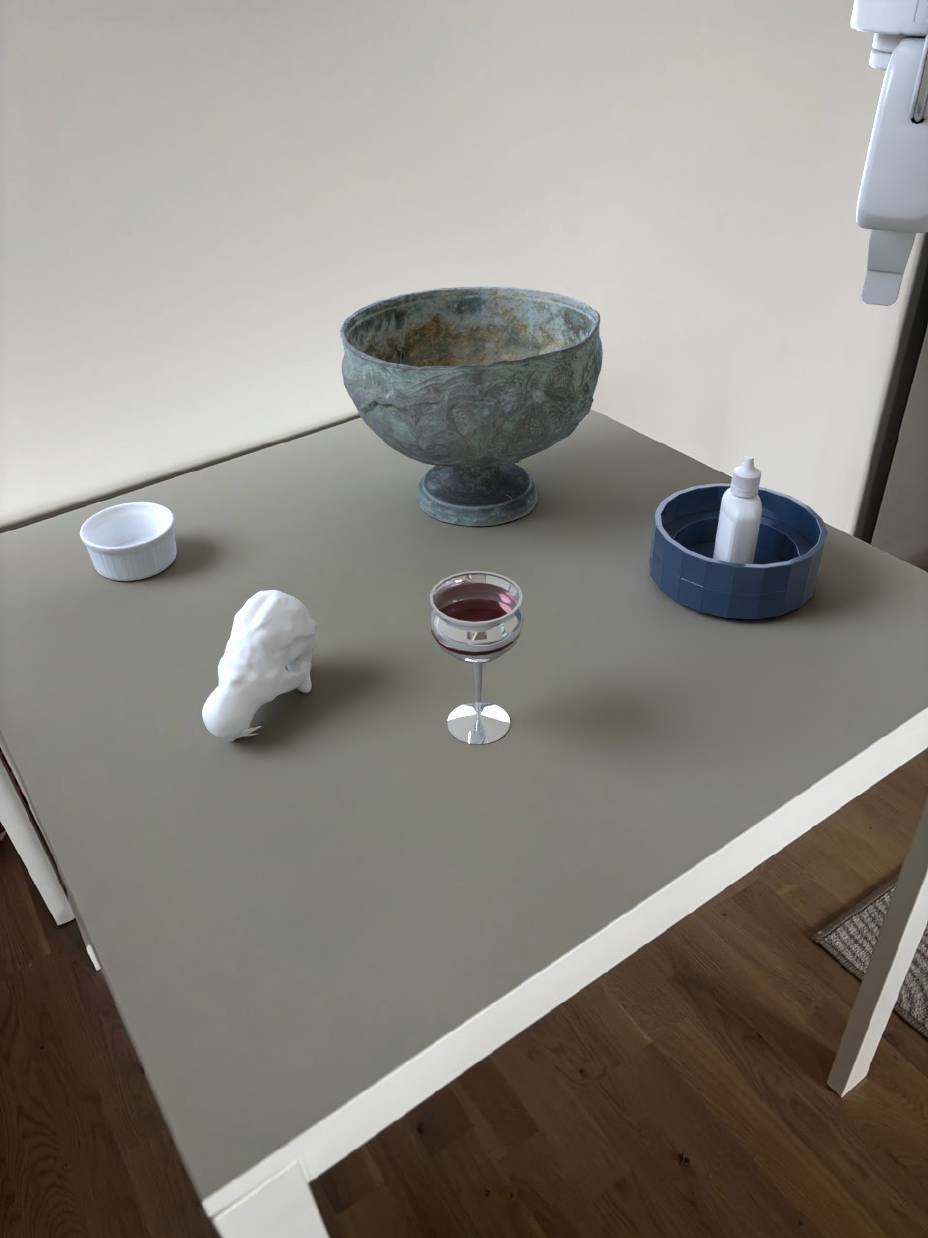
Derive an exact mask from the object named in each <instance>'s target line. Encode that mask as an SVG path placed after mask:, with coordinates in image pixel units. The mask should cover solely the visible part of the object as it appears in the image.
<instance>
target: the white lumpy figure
mask: <svg viewBox="0 0 928 1238" xmlns="http://www.w3.org/2000/svg"><path fill="white" fill-rule="evenodd" d="M318 626H319V625H318V623H317V622H316V621H315V620H314V619H313V618H312V617H311V614H310V612H309V610H308V609H307V607H306V605H305V604H304V603H303V602H302V601H301V600H300V599H298V598H297V597H294V596H293V595H290V594H287V593H285V592H283V591H280V590H278V589H268V590H260V591H257V592H256V593H255V594H254V595H252V596H251V597H250V598H248V599H247V600H246V601H245V603H244V604H243V606H242V607H241V608H240V609H239V610H238V611H237V612H236V614H235V615H234V618H233V623H232V627H231V632H230V637H229V639H228V641H227V643H226V645H225V649H224V653H223V656H222V657H221V658H220V660H219V662H218V665H217V676H218V686H216V687H215V689H214V690H213V691H212V692H211V693H210V694H209V695H208V697H207V699H206V700H205V702H204V703H203V706H202V711H201V715H202V720H203V724H204V725H205V727H206V729H207V731H208V732H209V733H210V734H212V735H213V736H214V737H216V738H219V739H224V740H227V741H228V742H234V741H235V740H236V739H239V738H242V737H243V738H244V737H251V736H257V735H258V733H254V731H257V730H258V729H260V728H262V726H263V725H262V726H261V725H258V726H254V723H252V720H254V716H255V714H256V713H257V712H258V711H259V710H260V708H261V707H262V706H263V705H264V704H267V703H270V702H272V701H274V700H275V699H276V697H277V696H280V695H282V694H285V693H289V692H291V691H293V690H295V689H297V690H298V691H299V692H301V693H304V694H308V693H310V692H311V691H312V688H313V687H312V685H313V683H312V680H311V670H312V666H313V665H312V660H313V655H314V650H315V648H316V647H317V644H318V643H317V642H318ZM286 667H287V668H286ZM252 726H253V727H252Z"/></svg>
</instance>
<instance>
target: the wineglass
mask: <svg viewBox="0 0 928 1238" xmlns="http://www.w3.org/2000/svg"><path fill="white" fill-rule="evenodd" d="M523 599H524V596H523V592H522V589H521V588H520V586H519V585H518V584H517V582H516V581H515V580H512V579H511V578H509V577H507V576H505V575H503V574H499V573H496V572H494V571H493V572H492V571H483V570H473V571H471V570H470V571H463V572H459V573H454V574H451V575H450V576H448V577H445V578H443V579H440V581H439V582H437V583H436V585H434V586H433V587H432V589H431V592H430V594H429V602H430V605H431V607H432V609H431V612H430V615H429V620H430V632H431V635H432V636H433V639H435V642H436V644H438V646H439V647H440V649H441V650H442V651H444V652H445V653H446V654H448V655H449V656H451V657H453V658H454V659H456V660H459V661H461V662H464V663H467V664H472V676H473V677H472V678H473V679H472V680H473V690H474V701H473V702H471V701H470V702H467V703H464V704H461V705H460V706H457V707H456V708H454V709H453V710H452V712H450V713H449V715H448V716H447V717H448V718H447V720H446V725H447V729H448V731H449V733H450V734H451V736H453V737H455V739H457V740H459V741H461V742H464V743H466V744H472V745H483V744H484V745H485V744H489V743H490V744H491V743H493V742H496V741H498V740H499V739H502V738H503V737H505V735H506V734H507V733H508V732H509V729H510V726H511V720H510V719H511V718H510V716H509V714H508V713H507V712H506V710H505V709H503V708H502V707H500V705H496V704H494V703H491V702H486V701H482V693H483V691H482V689H483V665H484V664H485V663H490V662H493V661H495V660H497V659H498V658H500V657H502V656H503V655H505V654H507V653H508V652H510V651H511V650H512V649H513V647H514V646H515V645H516V644H517V642H518V640H519V638H520V636H521V632H522V629H523V624H524V617H523V613H522V608H521V604H522V601H523Z"/></svg>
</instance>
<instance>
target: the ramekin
mask: <svg viewBox="0 0 928 1238" xmlns="http://www.w3.org/2000/svg"><path fill="white" fill-rule="evenodd" d="M79 536H80V540H81V541H82V543H83V544H84V545H85V546H86V550H87V551H88V555H89V557H90V559H91V562H92V565H93V567H94V569H95V571H97V573H98V574H100V575H101V576H102V577H104V578H106V579H109V580H113V581H119V582H133V581H140V580H143V579H148V578H150V577H153V576H156V575H157V574H160V573H161V572H163V571H165V570H166V569H167V568H169V567H170V566H171V565H172V564H173V562H174V561H175V559H176V557H177V553H178V549H177V541H176V535H175V516H174V513H173V512H172V511H171V510H170V508H168V507H167V506H165V505H162V504H159V503H156V502H150V501H132V502H125V503H120V504H115V505H112V506H108V507H107V508H104V509H102V510H99V511H98V512H95V513H94V514H93V515H91V516H90V517H88V518H87V519H86V520H85V521H84V522H83V524H82V525H81V527H80V530H79Z"/></svg>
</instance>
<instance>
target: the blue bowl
mask: <svg viewBox="0 0 928 1238" xmlns="http://www.w3.org/2000/svg"><path fill="white" fill-rule="evenodd" d="M730 487H731V483H717V482H716V483H708V484H700V485H695V486H694V485H693V486H691V487H688V488H684V489H682V490H679V491H676V492H673V493H671V495H669V496H668V497H666V498H665V499H663V500H661V502H659V503H660V504H659V505H658V507H657V509H656V510H655V512H654V515H653V525H652V532H651V533H652V534H651V543H650V553H649V561H648V562H649V570H650V572H649V573H650V577H651V578H652V581H653V582H654V583H655V584H656V586H657V588H658V589H659V590H660V591H661V592H662V593H664V594H665V595H667V597H669V598H671V599H672V600H673V601H675V602H676V603H678V604H680V605H682V606H685V607H688V608H689V609H691V610H695V611H697V612H699V613H703V614H707V615H712V616H715V617H716V616H717V617H721V618H725V619H738V620H739V619H741V620H760V619H766V618H774V617H779V616H783V615H785V614H788V613H790V612H792V611H795V610H798V609H800V608H801V607H802V606H804V605H805V604H806V603H807V601H809V600H810V599H811V598H812V597H813V595H814V594H815V593H814V592H815V589H816V586H817V581H818V577H819V573H820V569H821V564H822V560H823V555H824V551H825V547H826V542H827V538H828V529H827V527H826V524H825V522H824V520H823V518H822V517H821V516H820V515H819V514H818V513H817V512H816V511H815V510H814V509H813V508H812V507H811V506H809V505H808V504H806V503H804V502H802V501H801V500H798V499H797V498H795V497H794V496H791V495H788V494H786V493H783V492H780V491H776V490H773V489H771V488H767V487H761V486H759V490H758V496H759V498H760V500H761V504H762V514H761V521H760V526H759V532H758V538H757V543H756V549H755V554H754V560H753V564H736V563H731V562H726V561H721V560H716V559H713V554H714V548H715V541H716V534H717V528H718V521H719V515H720V508H721V502H722V497H723V495H724V493H725V491H726V490H727V489H729V488H730Z"/></svg>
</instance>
